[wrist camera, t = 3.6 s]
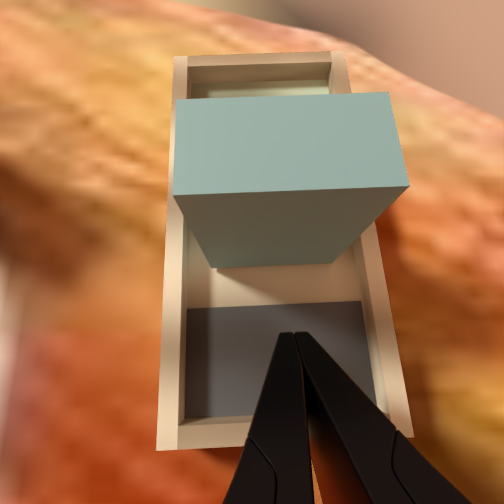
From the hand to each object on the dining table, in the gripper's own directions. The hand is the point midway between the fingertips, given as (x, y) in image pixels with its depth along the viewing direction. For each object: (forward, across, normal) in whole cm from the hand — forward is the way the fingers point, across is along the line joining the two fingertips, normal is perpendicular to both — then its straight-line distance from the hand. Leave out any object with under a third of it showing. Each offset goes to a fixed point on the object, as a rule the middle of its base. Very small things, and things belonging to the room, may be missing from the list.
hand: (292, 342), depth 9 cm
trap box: (+9, 0, 0) cm, 9 cm away
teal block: (+7, 0, 0) cm, 7 cm away
